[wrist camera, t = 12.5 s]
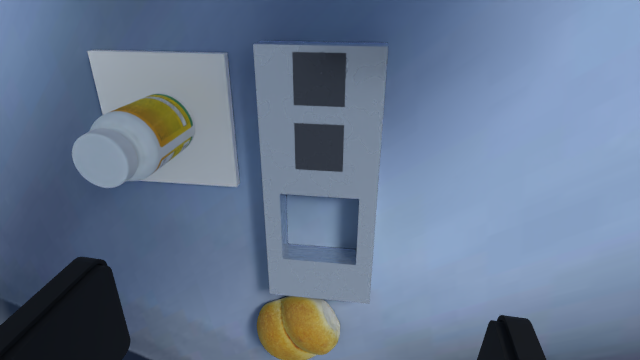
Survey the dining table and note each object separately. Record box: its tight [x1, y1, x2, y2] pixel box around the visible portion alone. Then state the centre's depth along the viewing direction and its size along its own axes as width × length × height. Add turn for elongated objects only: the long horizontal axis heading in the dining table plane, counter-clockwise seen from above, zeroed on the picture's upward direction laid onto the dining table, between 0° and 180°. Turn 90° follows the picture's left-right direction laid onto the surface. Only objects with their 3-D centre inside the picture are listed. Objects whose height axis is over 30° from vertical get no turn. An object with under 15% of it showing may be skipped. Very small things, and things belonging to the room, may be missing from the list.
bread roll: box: [257, 296, 340, 360], centre depth 43 cm, size 8×9×4 cm
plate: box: [87, 50, 240, 187], centre depth 35 cm, size 12×12×1 cm
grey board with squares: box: [253, 41, 388, 304], centre depth 35 cm, size 24×10×3 cm, turn 0°
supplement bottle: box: [72, 93, 195, 188], centre depth 31 cm, size 5×5×10 cm
